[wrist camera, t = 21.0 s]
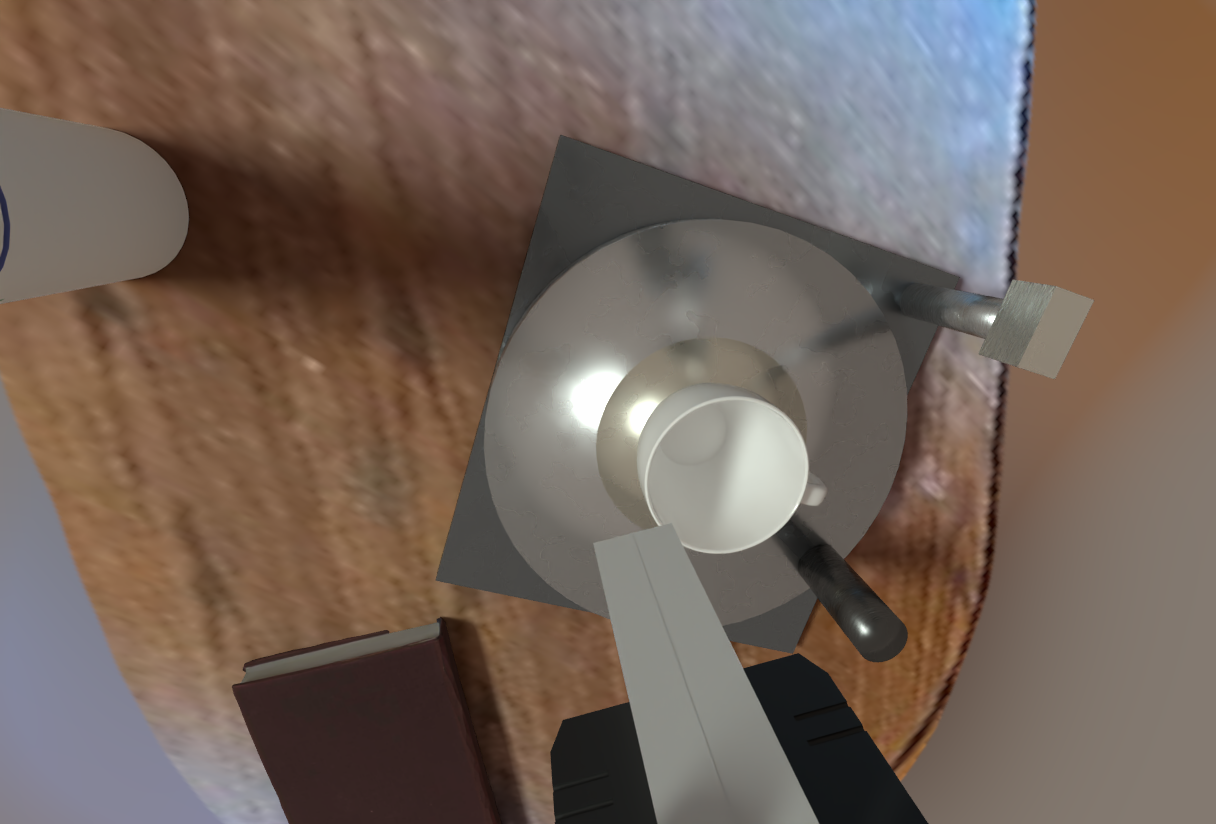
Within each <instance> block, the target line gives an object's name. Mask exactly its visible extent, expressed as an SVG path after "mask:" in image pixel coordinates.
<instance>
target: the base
mask: <svg viewBox="0 0 1216 824" xmlns="http://www.w3.org/2000/svg"><path fill="white" fill-rule="evenodd" d="M685 219H723V220H732V221H742V222H751V223H755V224H759V225H763V226H767V227H771V228H775V229H779V230H781V231H784V232H786V233H789V234H791V235H793V236H796V237H798V238H801V239H803V240H805V241H807V242H809V243H811V244H812V245H814V246H816V247H817V248H819V249H821V250H822V251H824V252H826V253H827V254H829V255H830V256H832V257H833V258H834V259H835V260H836V261H838V262H839V263H840V264H841V265H842V266H844V267H845V268H846V269H847V270H848V271H850V272H851V273H852V274H853V275H854V276H855V278H856V279H857V280H858V281H859V282H860V283H861V284H862V285H863V286H864V288H865V289H866V290H867V291H868V292H869V293H870V295H871V296H872V298H873V299H874V301H875V302H876V304H877V305H878V307H879V308H880V310H881V311H882V313H883V314H884V316H885V318H886V321H887V323H888V325H889V327H890V329H891V331H892V333H893V336H894V338H895V340H896V344H897V347H898V350H899V353H900V357H901V360H902V363H903V369H904V375H905V381H906V388H907V395H908V393H909V390H910V388H911V386H912V384H913V381H914V379H915V377H916V375H917V372H918V370H919V368H920V366H921V363H922V361H923V359H924V357H925V354H926V352H927V350H928V348H929V345H930V343H931V341H932V339H933V336H934V334H935V332H936V330H937V327H938V326H942V327H945V328H949V329H952V330H956V331H959V332H963V333H966V334H970V335H973V336H977V337H980V338H984V339H985V341H984V343H983V345H982V347H981V350H980V352H979V355H982V356H985V357H988V358H991V359H994V360H997V361H1000V362H1003V363H1006V364H1009V365H1012V366H1015V367H1018V368H1022V369H1025V370H1028V371H1031V372H1034V373H1037V374H1040V375H1043V376H1046V377H1049V378H1053V379H1055V378H1056V376H1057V374H1058V372H1059V370H1060V368H1061V366H1062V364H1063V362H1064V360H1065V358H1066V356H1067V354H1068V352H1069V350H1070V348H1071V346H1072V344H1073V342H1074V340H1075V338H1076V335H1077V334H1078V332H1079V330H1080V328H1081V326H1082V324H1083V322H1084V320H1085V318H1086V315H1087V314H1088V312H1089V310H1090V307H1091V306H1092V304H1093V302H1094V300H1092V299H1090V298H1087V297H1084V296H1082V295H1079V294H1076V293H1073V292H1071V291H1068V290H1065V289H1062V288H1060V287H1057V286H1051V285H1044V284H1038V283H1031V282H1024V281H1018V280H1012V283H1011V285H1010V287H1009V289H1008V291H1007V293H1006V296H1005V298H1004V299H1000V298H995V297H990V296H985V295H979V294H974V293H969V292H964V291H959V290H954V289H955V287H956V284H957V282H958V280H959V278H960V277H957V276H955V275H952V274H949V273H946V272H943V271H941V270H938V269H935V268H932V267H929V266H927V265H924V264H921V263H918V262H915V261H913V260H910V259H907V258H904V257H901V256H899V255H896V254H893V253H890V252H887V251H885V250H882V249H879V248H876V247H873V246H871V245H868V244H865V243H862V242H859V241H857V240H854V239H851V238H848V237H845V236H843V235H840V234H837V233H834V232H831V231H829V230H826V229H823V228H820V227H817V226H815V225H812V224H809V223H806V222H803V221H801V220H798V219H795V218H792V217H789V216H787V215H784V214H781V213H778V212H775V211H773V210H770V209H767V208H764V207H761V206H759V205H756V204H753V203H750V202H747V201H745V200H742V199H739V198H736V197H733V196H731V195H728V194H725V193H722V192H719V191H717V190H714V189H711V188H708V187H705V186H703V185H700V184H697V183H694V182H691V181H689V180H686V179H683V178H680V177H677V176H675V175H672V174H669V173H666V172H663V171H661V170H658V169H655V168H652V167H649V166H647V165H644V164H641V163H638V162H635V161H633V160H630V159H627V158H624V157H621V156H619V155H616V154H613V153H610V152H607V151H605V150H602V149H599V148H596V147H593V146H591V145H588V144H585V143H582V142H579V141H577V140H574V139H571V138H568V137H565V136H563V135H560V137H559V141H558V144H557V148H556V151H555V155H554V158H553V162H552V166H551V169H550V173H549V176H548V180H547V183H546V187H545V191H544V194H543V198H542V201H541V205H540V208H539V212H538V215H537V219H536V223H535V226H534V230H533V233H532V237H531V240H530V244H529V248H528V251H527V255H526V258H525V262H524V265H523V269H522V273H521V276H520V280H519V283H518V287H517V290H516V294H515V297H514V301H513V305H512V308H511V312H510V315H509V319H508V322H507V326H506V330H505V333H504V337H503V340H502V344H501V347H500V351H499V355H498V358H497V362H496V365H495V369H494V372H493V376H494V373H495V370H496V367H497V364H498V361H499V358H500V355H501V353H502V351H503V349H504V347H505V345H506V343H507V341H508V339H509V337H510V335H511V333H512V331H513V329H514V327H515V326H516V324H517V323H518V321H519V320H520V318H521V317H522V315H523V314H524V313H525V311H526V310H527V308H528V307H529V305H530V304H531V303H532V302H533V300H534V299H535V298H536V297H537V296H538V295H539V294H540V293H541V292H542V290H543V289H544V288H545V287H546V286H547V285H548V284H549V283H550V282H551V281H552V280H553V279H554V278H555V277H556V276H558V275H559V274H560V273H561V272H562V271H563V270H565V269H566V268H567V267H568V266H569V265H570V264H572V263H573V262H574V261H576V260H578V259H579V258H581V257H582V256H584V255H585V254H587V253H588V252H590V251H591V250H593V249H594V248H596V247H598V246H600V245H602V244H604V243H606V242H608V241H610V240H612V239H614V238H616V237H619V236H621V235H623V234H625V233H628V232H631V231H634V230H638V229H641V228H644V227H647V226H650V225H654V224H659V223H665V222H671V221H677V220H685ZM493 376H492V379H493ZM492 379H491V383H492ZM491 383H490V387H489V390H488V394H487V397H486V401H485V404H484V408H483V412H482V415H481V419H480V422H479V426H478V429H477V433H476V437H475V440H474V444H473V447H472V451H471V454H470V458H469V461H468V465H467V469H466V472H465V476H464V479H463V483H462V486H461V490H460V494H459V497H458V501H457V504H456V508H455V511H454V515H453V519H452V522H451V526H450V529H449V533H448V536H447V540H446V543H445V547H444V551H443V554H442V558H441V561H440V565H439V568H438V572H437V577H436V581H440V582H445V583H450V584H455V585H460V586H465V587H470V588H475V589H479V590H484V591H489V592H494V593H499V594H504V595H509V596H514V597H519V598H523V599H528V600H533V601H538V602H543V603H548V604H553V605H558V606H563V607H567V608H572V609H577V610H582V611H587V612H590V611H588V610H587V609H585V608H583V607H581V606H579V605H578V604H576V603H574V602H572V601H570V600H569V599H567V598H566V597H564V596H563V595H562V594H560V593H559V592H558V591H556V590H555V589H554V588H552V587H551V586H550V585H548V584H547V583H546V582H545V581H544V580H543V579H542V578H541V577H540V576H539V575H538V574H537V573H536V572H535V571H534V570H533V569H532V568H531V567H530V566H529V565H528V563H527V562H526V561H525V559H524V558H523V557H522V555H521V554H520V553H519V552H518V550H517V549H516V548H515V546H514V544H513V543H512V541H511V539H510V537H509V536H508V534H507V532H506V530H505V529H504V527H503V525H502V523H501V520H500V518H499V515H498V513H497V510H496V508H495V505H494V503H493V500H492V496H491V492H490V487H489V483H488V479H487V475H486V465H485V454H484V433H485V417H486V410H487V404H488V399H489V393H490V388H491ZM816 600H817V597H816V595H815V594H814V593H813V591H812V590H811V589H810V588H809V589H808V590H806V591H805V592H803V593H801V594H800V595H798V596H796V597H795V598H793V599H791V600H790V601H788V602H787V603H785V604H783V605H780V606H778V607H776V608H774V609H772V610H770V611H768V612H766V613H763V614H761V615H758V616H755V617H752V618H749V619H746V620H743V621H740V622H737V623H732V624H728V625H723V626H722V627H723V629H724V631H725V633H726V635H727V637H728V639H729V641H734V642H739V643H744V644H748V645H753V646H758V647H763V648H768V649H773V650H778V651H783V652H788V653H792V654H793V652H794V650H795V647H796V645H797V643H798V641H799V638H800V636H801V634H802V632H803V629H804V627H805V625H806V623H807V620H808V618H809V616H810V614H811V611H812V609H813V607H814V605H815V602H816ZM592 613H593V612H592Z"/></svg>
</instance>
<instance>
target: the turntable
mask: <svg viewBox="0 0 1216 824" xmlns="http://www.w3.org/2000/svg"><path fill="white" fill-rule="evenodd" d="M698 383H725V384H731V385H735V386H739V387H743V388H746V389H748V390H751V391H753V392H755V393H757V394H758V395H760V396H762V397H763V398H765V399H767V400H768V401H769V402H771V403H772V404H774V405H775V406H776V407H777V408H779V409H780V410H781V411H782V412H784V413H785V414H786V415H787V416H788V417H789V418H790V419H791V420H792V421H793V422H794V423H795V425H796V426H797V428H798V429H799V431H800V432H801V434H802V436H803V439H804V441H805V444H806V447H807V451H808V456H809V471H810V472H812V473H813V474H815V475H816V476H817V477H819V478H820V479H821V480H822V481H823V482H824V484H825V485H826V487H827V494H826V496H825V499H824V501H823V502H822V503H821V504H820V505H818V506H809V505H804V504H800V505H799V507H798V508H797V510H796V511H795V513H794V514H793V516H792V517H791V518H790V520H789V521H788V522H787V523H786V524H785V525H784V526H783V527H782V528H781V529H780V530H779V531H778V532H777V533H775V534H774V535H773V536H771V537H770V538H768V539H767V540H765V541H764V542H762V543H760V544H758V545H756V546H754V547H751V548H749V549H746V550H742V551H738V552H734V553H726V554H710V553H703V552H698V551H695V550H692V549H689V548H687V547H684V546H683V547H684V549H685V551H686V553H687V555H688V558H689V560H690V562H691V564H692V566H693V568H694V570H695V572H696V574H697V576H698V578H699V580H700V582H701V584H702V586H703V588H704V590H705V592H706V594H707V596H708V598H709V600H710V602H711V604H712V606H713V608H714V611H715V613H716V615H717V617H718V619H719V621H720V623H721V625H722V626H723V625H728V624H732V623H737V622H740V621H743V620H746V619H749V618H752V617H755V616H758V615H761V614H763V613H766V612H768V611H770V610H772V609H774V608H776V607H778V606H780V605H783V604H785V603H787V602H788V601H790V600H791V599H793V598H795V597H796V596H798V595H800V594H801V593H803V592H805V591H806V590H808V589H809V588H810V589H811V590H812V591H813V593H814V594H815V595H816V597H817V598H818V599H819V600H820V602H821V603H822V604H823V606H824V607H825V608H826V610H827V611H828V612H829V613H830V615H831V616H832V617H833V619H834V620H835V621H836V623H837V624H838V625H839V626H840V628H841V629H842V630H843V632H844V633H845V634H846V636H847V637H848V638H849V639H850V641H851V642H852V643H853V645H854V646H855V647H856V649H857V650H858V651H859V652H860V654H861V655H862V656H863V657H864V658H865V659H867V660H869V661H872V662H883V661H887V660H890V659H892V658H893V657H895V656H896V655H897V654H899V653H900V652H901V650H902V649H903V648H904V646H905V644H906V641H907V636H908V633H907V629H906V627H905V625H904V624H903V623H902V621H901V620H900V619H899V618H898V617H897V616H896V615H895V614H894V613H893V612H892V611H891V610H890V609H889V607H888V606H887V605H886V604H885V603H884V602H883V601H882V600H881V599H880V598H879V597H878V596H877V595H876V593H875V592H874V591H873V590H872V589H871V588H870V587H869V586H868V585H867V584H866V583H865V582H864V580H863V579H862V578H861V577H860V576H859V575H858V574H857V573H856V572H855V571H854V570H853V569H852V568H851V566H850V565H849V564H848V563H847V562H846V561H845V560H844V558H845V557H846V556H847V555H848V554H849V553H850V552H851V550H852V549H853V548H854V547H855V546H856V545H857V543H858V542H859V541H860V540H861V539H862V537H863V536H864V535H865V533H866V532H867V530H868V529H869V527H870V526H871V524H872V523H873V521H874V520H875V518H876V517H877V515H878V513H879V511H880V509H881V507H882V505H883V503H884V501H885V500H886V498H887V496H888V494H889V492H890V489H891V486H892V484H893V481H894V478H895V476H896V473H897V470H898V467H899V463H900V459H901V455H902V451H903V447H904V442H905V434H906V424H907V388H906V381H905V375H904V369H903V363H902V360H901V357H900V353H899V350H898V347H897V344H896V340H895V338H894V336H893V333H892V331H891V329H890V327H889V325H888V323H887V321H886V318H885V316H884V314H883V313H882V311H881V310H880V308H879V307H878V305H877V304H876V302H875V301H874V299H873V298H872V296H871V295H870V293H869V292H868V291H867V290H866V289H865V288H864V286H863V285H862V284H861V283H860V282H859V281H858V280H857V279H856V278H855V276H854V275H853V274H852V273H851V272H850V271H848V270H847V269H846V268H845V267H844V266H842V265H841V264H840V263H839V262H838V261H836V260H835V259H834V258H833V257H832V256H830V255H829V254H827V253H826V252H824V251H822V250H821V249H819V248H817V247H816V246H814V245H812V244H811V243H809V242H807V241H805V240H803V239H801V238H798V237H796V236H793V235H791V234H789V233H786V232H784V231H781V230H779V229H775V228H771V227H767V226H763V225H759V224H755V223H751V222H742V221H732V220H723V219H685V220H677V221H671V222H665V223H659V224H654V225H650V226H647V227H644V228H641V229H638V230H634V231H631V232H628V233H625V234H623V235H621V236H619V237H616V238H614V239H612V240H610V241H608V242H606V243H604V244H602V245H600V246H598V247H596V248H594V249H593V250H591V251H590V252H588V253H587V254H585V255H584V256H582V257H581V258H579V259H578V260H576V261H574V262H573V263H572V264H570V265H569V266H568V267H567V268H566V269H565V270H563V271H562V272H561V273H560V274H559V275H558V276H556V277H555V278H554V279H553V280H552V281H551V282H550V283H549V284H548V285H547V286H546V287H545V288H544V289H543V290H542V292H541V293H540V294H539V295H538V296H537V297H536V298H535V299H534V300H533V302H532V303H531V304H530V305H529V307H528V308H527V310H526V311H525V313H524V314H523V315H522V317H521V318H520V320H519V321H518V323H517V324H516V326H515V327H514V329H513V331H512V333H511V335H510V337H509V339H508V341H507V343H506V345H505V347H504V349H503V351H502V353H501V355H500V358H499V361H498V364H497V367H496V370H495V373H494V376H493V379H492V383H491V388H490V393H489V399H488V404H487V410H486V417H485V433H484V454H485V465H486V475H487V479H488V483H489V487H490V492H491V496H492V500H493V503H494V505H495V508H496V510H497V513H498V515H499V518H500V520H501V523H502V525H503V527H504V529H505V530H506V532H507V534H508V536H509V537H510V539H511V541H512V543H513V544H514V546H515V548H516V549H517V550H518V552H519V553H520V554H521V555H522V557H523V558H524V559H525V561H526V562H527V563H528V565H529V566H530V567H531V568H532V569H533V570H534V571H535V572H536V573H537V574H538V575H539V576H540V577H541V578H542V579H543V580H544V581H545V582H546V583H547V584H548V585H550V586H551V587H552V588H554V589H555V590H556V591H558V592H559V593H560V594H562V595H563V596H564V597H566V598H567V599H569V600H570V601H572V602H574V603H576V604H578V605H579V606H581V607H583V608H585V609H587V610H588V611H590V612H593V613H595V614H598V615H600V616H603V617H605V618H608V619H610V614H609V610H608V605H607V601H606V597H605V592H604V588H603V584H602V579H601V575H600V571H599V566H598V562H597V558H596V553H595V549H594V544H593V543H596V542H599V541H603V540H607V539H611V538H615V537H619V536H623V535H627V534H630V533H634V532H638V531H642V530H646V529H650V528H654V527H658V524H657V523H656V521H655V520H654V518H653V516H652V514H651V512H650V510H649V508H648V506H647V503H646V501H645V499H644V496H643V493H642V490H641V487H640V483H639V479H638V474H637V463H636V456H637V446H638V441H639V437H640V434H641V431H642V428H643V426H644V424H645V422H646V420H647V419H648V417H649V415H650V414H651V412H652V411H653V410H654V409H655V407H656V406H657V405H658V404H659V403H660V402H661V401H662V400H664V399H665V398H666V397H667V396H669V395H670V394H672V393H674V392H675V391H677V390H679V389H682V388H684V387H687V386H690V385H694V384H698ZM610 620H611V619H610Z"/></svg>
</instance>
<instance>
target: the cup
mask: <svg viewBox="0 0 1216 824" xmlns="http://www.w3.org/2000/svg"><path fill="white" fill-rule="evenodd" d="M636 463H637V474H638V479H639V483H640V487H641V490H642V493H643V496H644V499H645V501H646V503H647V506H648V508H649V510H650V512H651V514H652V516H653V518H654V520H655V521H656V523H657V524H658V526H661V525H665V524H669V523H672V525H673V527H674V529H675V531H676V533H677V535H678V537H679V539H680V541H681V543H682V545H683V546H684V547H687V548H689V549H692V550H695V551H698V552H703V553H710V554H726V553H734V552H738V551H742V550H746V549H749V548H751V547H754V546H756V545H758V544H760V543H762V542H764V541H765V540H767V539H768V538H770V537H771V536H773V535H774V534H775V533H777V532H778V531H779V530H780V529H781V528H782V527H783V526H784V525H785V524H786V523H787V522H788V521H789V520H790V518H791V517H792V516H793V514H794V513H795V511H796V510H797V508H798V507H799V505H800V504H804V505H809V506H818V505H820V504H821V503H822V502H823V501H824V499H825V496H826V494H827V487H826V485H825V484H824V482H823V481H822V480H821V479H820V478H819V477H817V476H816V475H815V474H813V473H812V472H810V471H809V456H808V451H807V447H806V444H805V441H804V439H803V436H802V434H801V432H800V431H799V429H798V428H797V426H796V425H795V423H794V422H793V421H792V420H791V419H790V418H789V417H788V416H787V415H786V414H785V413H784V412H782V411H781V410H780V409H779V408H777V407H776V406H775V405H774V404H772V403H771V402H769V401H768V400H767V399H765V398H763V397H762V396H760V395H758V394H757V393H755V392H753V391H751V390H748V389H746V388H743V387H739V386H735V385H731V384H725V383H698V384H694V385H690V386H687V387H684V388H682V389H679V390H677V391H675V392H674V393H672V394H670V395H669V396H667V397H666V398H665V399H664V400H662V401H661V402H660V403H659V404H658V405H657V406H656V407H655V409H654V410H653V411H652V412H651V414H650V415H649V417H648V419H647V420H646V422H645V424H644V426H643V428H642V431H641V434H640V437H639V441H638V446H637V456H636Z"/></svg>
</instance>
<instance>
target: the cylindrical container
mask: <svg viewBox="0 0 1216 824" xmlns="http://www.w3.org/2000/svg"><path fill="white" fill-rule="evenodd" d="M188 223H189V213H188V204H187V200H186V197H185V194H184V191H183V188H182V186H181V184H180V182H179V180H178V178H177V176H176V174H175V173H174V171H173V170H172V169H171V167H170V166H169V165H168V164H167V162H166V161H165V160H164V159H163V158H162V157H161V156H160V155H159V154H158V153H157V152H156V151H155V150H153V149H152V148H150V147H149V146H148V145H146V144H145V143H143V142H142V141H141V140H138V139H136V138H134V137H132V136H130V135H128V134H126V133H123V132H120V131H116V130H112V129H109V128H104V127H99V126H93V125H88V124H83V123H77V122H72V121H67V120H61V119H56V118H51V117H45V116H40V115H35V114H29V113H24V112H19V111H14V110H9V109H4V108H0V304H3V303H8V302H13V301H19V300H24V299H29V298H35V297H40V296H45V295H51V294H56V293H61V292H67V291H72V290H77V289H83V288H88V287H93V286H99V285H104V284H109V283H115V282H120V281H125V280H130V279H136V278H141V277H145V276H147V275H150V274H153V273H156V272H157V271H159V270H161V269H162V268H164V267H165V266H167V265H168V264H169V263H170V262H171V261H172V260H173V259H174V258H175V257H176V256H177V254H178V252H179V251H180V249H181V248H182V246H183V244H184V241H185V238H186V235H187V231H188Z"/></svg>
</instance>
